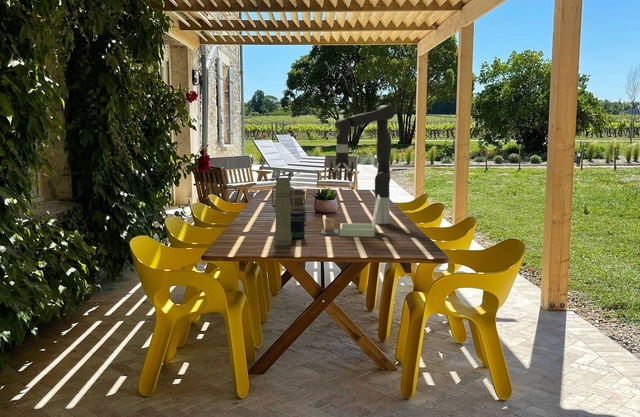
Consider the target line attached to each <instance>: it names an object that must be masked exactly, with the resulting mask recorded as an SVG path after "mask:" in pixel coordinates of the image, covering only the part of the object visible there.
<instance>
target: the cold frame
mask: <svg viewBox="0 0 640 417" xmlns="http://www.w3.org/2000/svg"><path fill="white" fill-rule="evenodd" d="M380 200H381V198H380V196H379V195H377V200H376V205H375V204H374V211H373V216H372V220H371V223H345V222H343V223H341V222H340V226H339V237H367V238H369V237H370V238H373V237H374V238H376V225H377V224H376V219H377V214H378V209H379V205H380Z"/></svg>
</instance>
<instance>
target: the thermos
mask: <svg viewBox="0 0 640 417" xmlns="http://www.w3.org/2000/svg"><path fill="white" fill-rule="evenodd" d="M274 189H275V200H274ZM291 190H293V205H292V201H291V196H290V193H291ZM295 190H296V189H295V188H294V187H293V186H292V187H291V180H290V178H288V177H279V178H276V182H275V186H273V187H272V189H271V206H272V208H274V213H275V232H274V236H273V237H274V246H276V247H290V246H292V241H293V240H292V234H291V212H292V207H294V199H295Z"/></svg>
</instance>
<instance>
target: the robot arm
mask: <svg viewBox="0 0 640 417" xmlns="http://www.w3.org/2000/svg"><path fill="white" fill-rule="evenodd" d="M395 115H396V109H395V108H394V106H392V105H390V104H383V105H379V106H378V107H377V108H376V110H373V111H369V112H363V113H358V114H354V115H352V116H347V117H343V118H339V119H337V120H336V121H335V123H334V127H335V129H336V130H337V131H339V133H338V135H337V136H336V148H335V161H333V160H332V161H330V170H329V171H330V172H332V177H333V178H334V179H336V178H337V177H336V174H337V173H336V171H337V170H338V169H346V170H347V172H348V173H347V178H348V179H350V178H351V173H352V172H354V162H353V160H352V161H349V136H350V133H351V132H350V130H351V128H358V127H361V126H363V125H367V124H371V123H375V122H376V127H377V129H376V131H377V132H376V157H377V171H376V172H377V174H376V175H375V178H374V206H375V205H376V200H377V195H379V196H380V198H381V200H380V205H379V209H378V214H377V219H376V224H375V225H389V224H390V181H391V172H390V171H391V170H390V162H391V155H392V137H391V135H390V132H389V129H388V128H389V127H388V126H389V125H388V122H389V120H391V119H393V118H394V116H395ZM334 165H335V167H334ZM349 166H350V167H351V169H350V168H349ZM333 167H334V169H333Z"/></svg>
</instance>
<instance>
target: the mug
mask: <svg viewBox="0 0 640 417" xmlns="http://www.w3.org/2000/svg"><path fill="white" fill-rule="evenodd" d="M294 190H295V199H294V207H292V211H304V212H306V190H303V189H294ZM290 196H291V201H292V205H293V190H292V189H291V193H290Z"/></svg>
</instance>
